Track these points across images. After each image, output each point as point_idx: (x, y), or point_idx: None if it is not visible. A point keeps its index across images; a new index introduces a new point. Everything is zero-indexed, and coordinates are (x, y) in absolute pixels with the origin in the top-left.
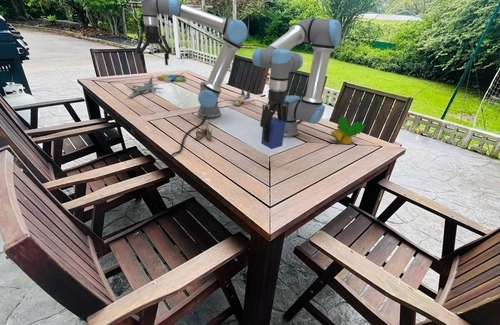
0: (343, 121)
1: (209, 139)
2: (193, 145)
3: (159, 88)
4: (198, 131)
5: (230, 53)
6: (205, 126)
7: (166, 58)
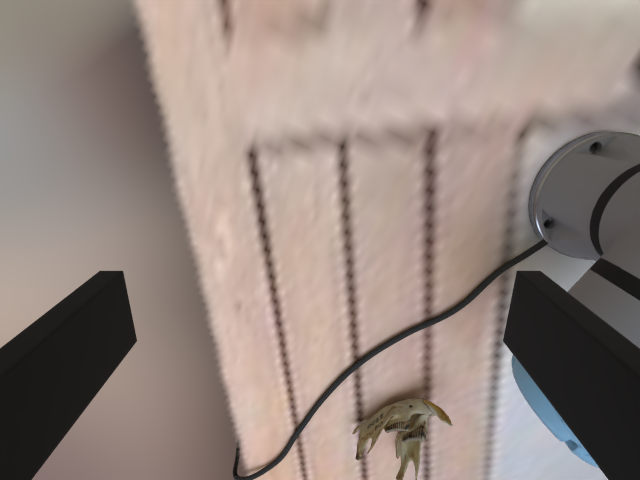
0: None
1: (398, 439)
2: (330, 443)
3: None
4: (379, 429)
5: None
6: (427, 412)
7: (578, 435)
